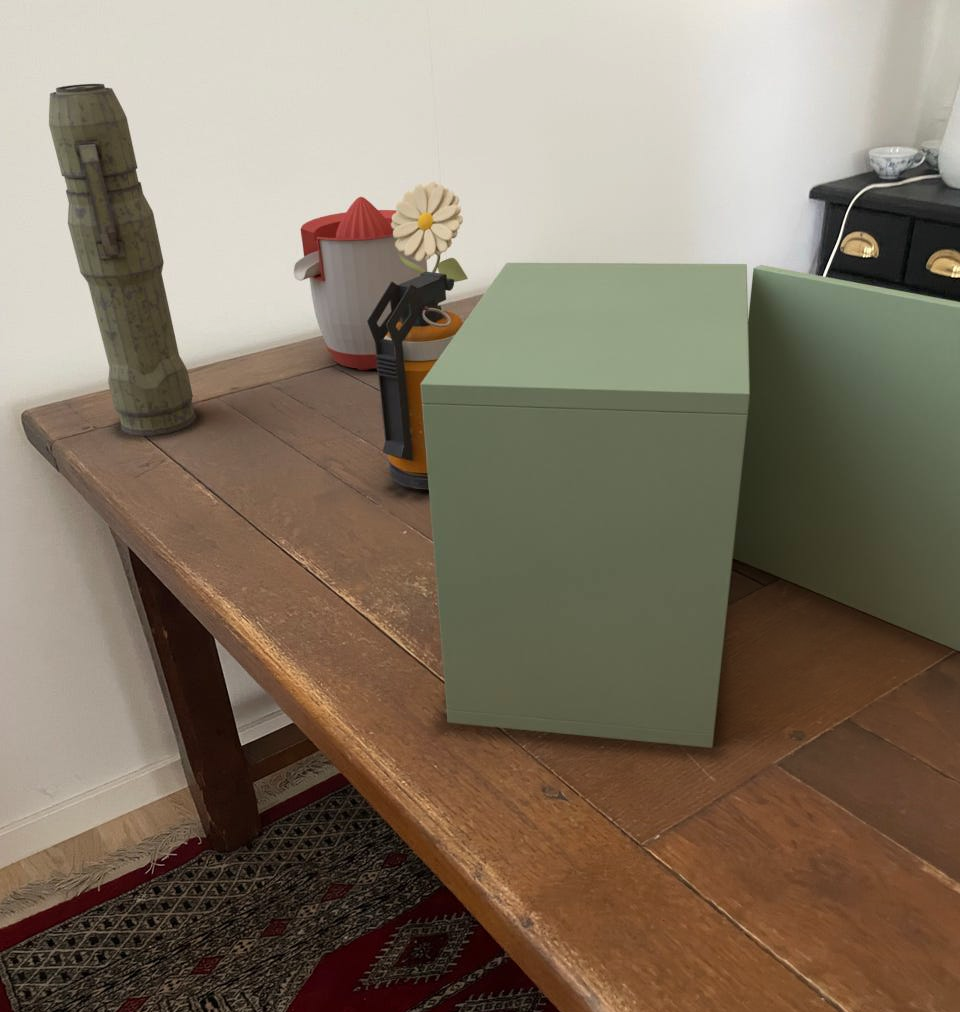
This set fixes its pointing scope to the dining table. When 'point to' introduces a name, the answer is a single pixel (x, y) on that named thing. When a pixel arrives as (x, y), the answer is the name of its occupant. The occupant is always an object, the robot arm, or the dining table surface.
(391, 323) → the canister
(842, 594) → the cupboard door
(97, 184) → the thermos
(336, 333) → the citrus juicer
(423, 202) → the flower in vase
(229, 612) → the dining table surface
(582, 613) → the cupboard
